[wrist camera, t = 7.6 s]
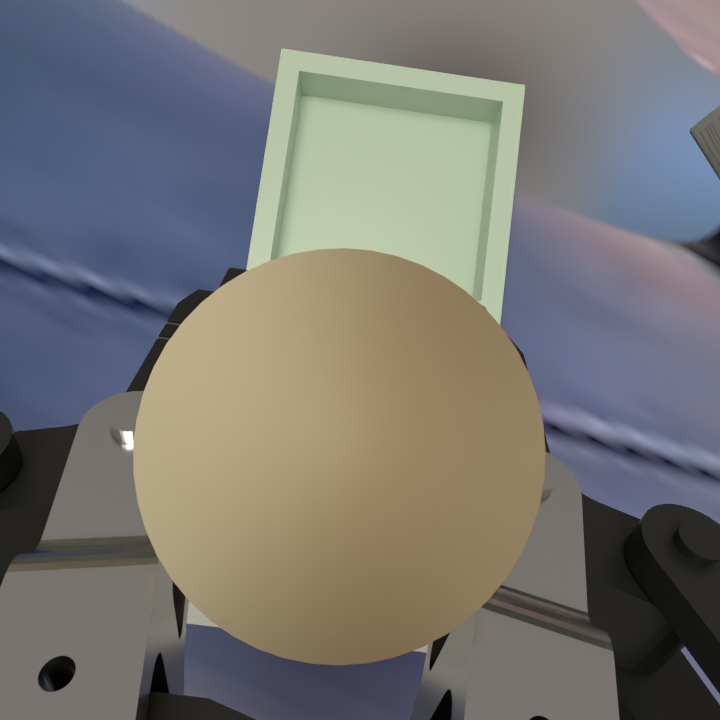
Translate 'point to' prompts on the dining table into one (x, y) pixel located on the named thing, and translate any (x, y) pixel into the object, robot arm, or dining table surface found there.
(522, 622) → the robot arm
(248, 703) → the dining table surface
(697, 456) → the dining table surface
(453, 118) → the tray
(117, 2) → the dining table surface
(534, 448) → the ball
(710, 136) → the skincare box
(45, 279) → the dining table surface
